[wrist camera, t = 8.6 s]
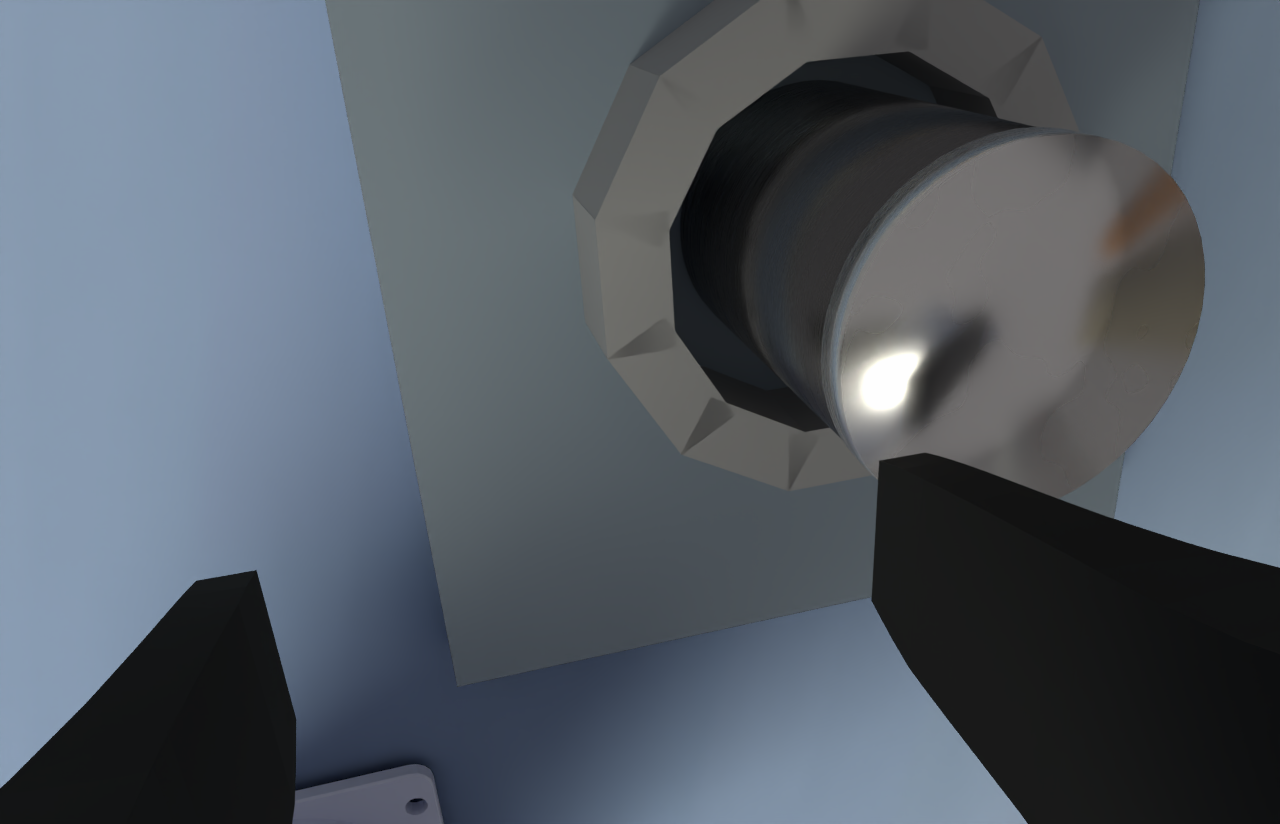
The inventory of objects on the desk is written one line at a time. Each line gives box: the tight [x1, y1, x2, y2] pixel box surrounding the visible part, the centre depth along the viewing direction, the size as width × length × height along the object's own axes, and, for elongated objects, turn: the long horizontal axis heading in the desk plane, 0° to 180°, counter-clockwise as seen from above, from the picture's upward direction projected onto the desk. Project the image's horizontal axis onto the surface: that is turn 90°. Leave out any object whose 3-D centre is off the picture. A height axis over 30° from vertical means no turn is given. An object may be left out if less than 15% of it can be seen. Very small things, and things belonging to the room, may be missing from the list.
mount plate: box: [325, 0, 1200, 687], centre depth 18 cm, size 18×16×4 cm
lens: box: [680, 80, 1205, 499], centre depth 15 cm, size 5×5×7 cm
